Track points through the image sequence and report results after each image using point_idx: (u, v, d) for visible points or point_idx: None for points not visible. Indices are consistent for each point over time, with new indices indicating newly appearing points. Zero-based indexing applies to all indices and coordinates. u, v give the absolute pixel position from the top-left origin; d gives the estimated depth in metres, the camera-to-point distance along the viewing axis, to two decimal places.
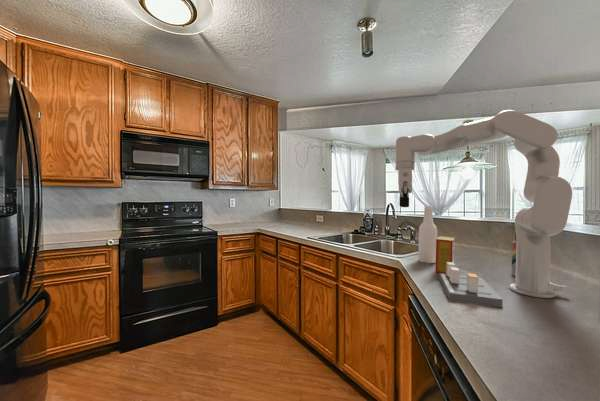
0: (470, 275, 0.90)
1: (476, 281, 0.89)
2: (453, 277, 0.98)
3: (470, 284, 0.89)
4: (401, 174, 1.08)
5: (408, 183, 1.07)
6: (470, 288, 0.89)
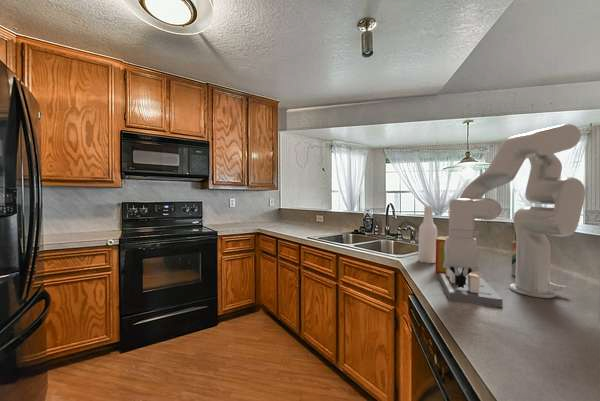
0: (471, 275, 0.90)
1: (477, 281, 0.88)
2: (453, 277, 0.98)
3: (471, 284, 0.89)
4: (477, 246, 0.89)
5: None
6: (471, 288, 0.89)
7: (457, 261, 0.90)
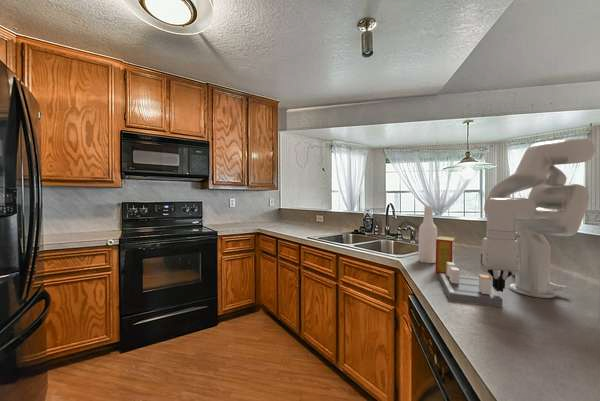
0: (483, 276, 0.89)
1: (489, 282, 0.87)
2: (453, 277, 0.98)
3: (483, 285, 0.88)
4: None
5: None
6: (483, 289, 0.88)
7: (496, 264, 0.86)
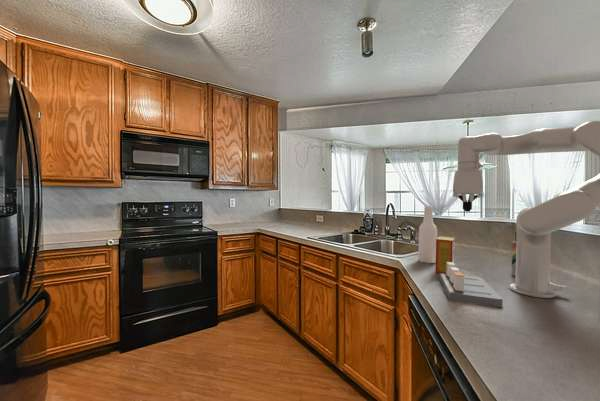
0: (456, 274, 0.92)
1: (462, 280, 0.90)
2: (453, 277, 0.98)
3: (456, 282, 0.91)
4: (481, 175, 1.06)
5: None
6: (456, 286, 0.91)
7: (465, 189, 1.08)
